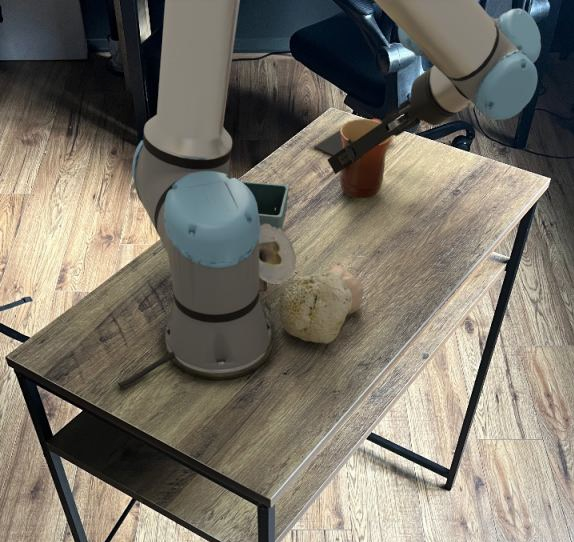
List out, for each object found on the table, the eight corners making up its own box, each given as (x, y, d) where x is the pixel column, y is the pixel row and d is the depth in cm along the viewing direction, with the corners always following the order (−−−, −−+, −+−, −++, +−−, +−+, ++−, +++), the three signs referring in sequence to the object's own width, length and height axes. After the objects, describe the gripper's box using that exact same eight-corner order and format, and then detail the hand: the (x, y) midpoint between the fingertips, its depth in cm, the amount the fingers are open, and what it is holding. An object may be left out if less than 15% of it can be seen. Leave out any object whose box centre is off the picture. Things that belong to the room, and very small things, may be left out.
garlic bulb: (317, 319, 124) (341, 289, 128) (355, 325, 121) (378, 294, 125) (309, 281, 119) (334, 251, 123) (349, 286, 116) (373, 255, 120)
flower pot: (225, 261, 130) (223, 211, 123) (235, 229, 136) (233, 179, 128) (280, 267, 130) (281, 217, 123) (288, 235, 135) (289, 184, 128)
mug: (377, 208, 139) (385, 150, 131) (328, 196, 141) (333, 138, 133) (395, 173, 146) (404, 116, 138) (348, 163, 148) (354, 106, 140)
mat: (357, 167, 148) (357, 165, 148) (314, 148, 152) (314, 146, 152) (389, 145, 153) (389, 143, 153) (346, 127, 157) (346, 125, 156)
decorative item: (286, 360, 122) (254, 299, 118) (326, 331, 125) (296, 271, 122) (334, 351, 112) (300, 284, 108) (376, 320, 115) (345, 255, 112)
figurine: (312, 233, 121) (234, 244, 130) (275, 195, 113) (194, 208, 122) (296, 301, 119) (217, 306, 128) (257, 266, 111) (176, 275, 120)
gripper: (412, 144, 118) (322, 201, 136) (498, 84, 129) (404, 144, 147) (387, 94, 116) (299, 159, 134) (476, 38, 127) (383, 105, 145)
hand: (354, 151), depth 141 cm, fingers closed on mug, 12 cm apart
